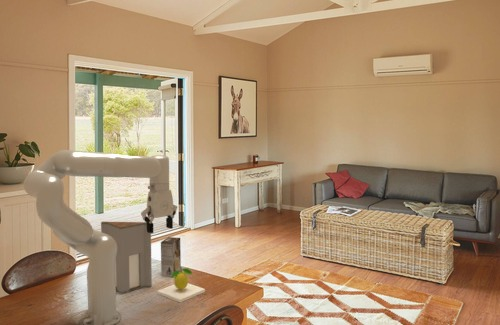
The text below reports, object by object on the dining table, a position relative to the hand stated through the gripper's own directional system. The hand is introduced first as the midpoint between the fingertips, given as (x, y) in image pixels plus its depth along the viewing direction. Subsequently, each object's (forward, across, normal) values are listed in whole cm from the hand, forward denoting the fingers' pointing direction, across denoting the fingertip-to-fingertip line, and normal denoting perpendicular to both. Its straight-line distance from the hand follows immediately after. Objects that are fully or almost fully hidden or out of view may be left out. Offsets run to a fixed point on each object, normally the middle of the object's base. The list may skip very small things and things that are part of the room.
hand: (160, 230), depth 170 cm
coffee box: (+28, +23, +20) cm, 42 cm away
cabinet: (+28, -3, +20) cm, 35 cm away
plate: (+28, +10, -1) cm, 30 cm away
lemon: (+27, +10, -1) cm, 29 cm away
